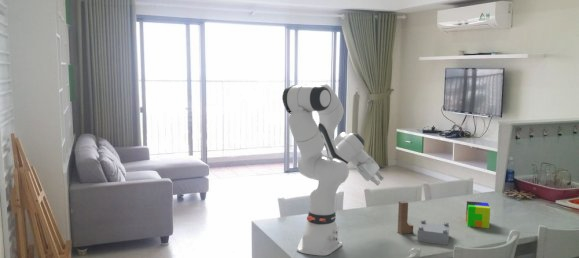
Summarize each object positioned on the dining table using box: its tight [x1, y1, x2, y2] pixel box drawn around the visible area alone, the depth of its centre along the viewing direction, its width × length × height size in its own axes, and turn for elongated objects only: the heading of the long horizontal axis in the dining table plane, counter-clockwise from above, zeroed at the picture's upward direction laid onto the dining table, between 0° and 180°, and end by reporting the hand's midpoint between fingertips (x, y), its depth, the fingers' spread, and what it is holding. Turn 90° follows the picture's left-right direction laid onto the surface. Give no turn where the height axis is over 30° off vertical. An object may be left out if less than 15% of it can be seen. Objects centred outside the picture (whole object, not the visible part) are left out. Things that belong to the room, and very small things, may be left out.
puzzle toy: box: [465, 200, 491, 229], centre depth 241 cm, size 10×10×10 cm
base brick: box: [416, 219, 450, 246], centre depth 220 cm, size 13×13×6 cm
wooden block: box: [397, 200, 414, 235], centre depth 227 cm, size 7×3×15 cm, turn 106°
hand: (380, 181), depth 230 cm, fingers open, 8 cm apart
